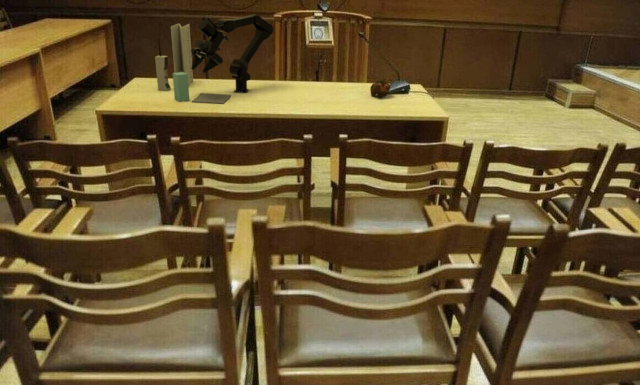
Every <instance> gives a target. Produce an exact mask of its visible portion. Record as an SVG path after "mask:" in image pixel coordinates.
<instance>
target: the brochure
mask: <svg viewBox="0 0 640 385" xmlns="http://www.w3.org/2000/svg"><path fill="white" fill-rule="evenodd" d="M170 34H171V44H172V45H171V46H172V57H173V68H174V69H173V71H174V72H173V73H179V72H184V73H186V74H188V86H189V87H190V85H192V84H193V83H194V74H193V73H194V72H193V71H194V70H192V69H191V68H192V63H193V59H192V58H193V55H192V52H191V50H192V44H191V27H190V23H188V24H186V25H184V26H182V25H181V24H180V23H176V24H174V25H171V26H170Z"/></svg>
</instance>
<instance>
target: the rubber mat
mask: <svg viewBox="0 0 640 385" xmlns="http://www.w3.org/2000/svg"><path fill="white" fill-rule="evenodd" d="M231 97H232V94H225V93H209V92H208V93H206V92H201V93H199V94H198V95H197V96H196V97H195V98H194V99H193V100H191V103H193V104H194V103H200V104H214V105H217V104H218V105H225V103H226V102H227V101H228V100H229V99H230V98H231Z"/></svg>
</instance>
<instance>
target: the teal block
mask: <svg viewBox="0 0 640 385" xmlns="http://www.w3.org/2000/svg"><path fill="white" fill-rule="evenodd" d="M172 82H173V95H174V100H175V101H176V102H179V103H183V102H189V101H190V91H189V90H190V89H189V88H190V85H189V86H188V74H186V73H184V72H179V73H175V72H173V73H172Z"/></svg>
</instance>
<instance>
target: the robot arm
mask: <svg viewBox="0 0 640 385" xmlns="http://www.w3.org/2000/svg"><path fill="white" fill-rule="evenodd" d="M249 25H252V26H253V27H254V36H253V38H252V39H251V41H250V42H249V44H248V45H247V46H246V49H245V50H244V51H243V53H242V55H241V56H240V57H239V58H238V59H236V58H234V59H233V60H232V62H231V63H230V64H229V66H230V67H229V69H228V70H229V73H230V76H231V77H232V79H234V80H235V89H234V90H233V93H242V94H243V93H244V94H245V93H248V92H249V90H250V89H249V88H248V81H251V75H250V73H249V72H248V70H249V63H250V62H251V61H252V59H253V57H254V56H255V54H256V53H257V51H258V50H259V48H260V47H261V45H262V43H263V42H264V41H266V40H268V39H270V37H271V36H272V34H273V33H274V26H273V24H271V23H269V22H267V21H266V20H265V19H264V18H262V17H261V16H260V15H258V14H254V13H253V14H249V15H246V16H241V17H236V18H219V19H217V21H216V22H213V21H212V20H211V18H209V17H205V18H204V19H203V20H201V21H200V22H199V23H198V25H197V28H198V30H199V31H200V32H201V33H202V34H204V35H205V37H207V38H208V39H203V40H199V39H194V41H193V47H191V56H192V58H193V59H192V68H191V69H192V70H193V71H194V70H195V69H197V67H198V66H199V65H200V64H201V63H202V62H203V61H204V59H205V58H206V59H207V60H206V61H207V62H206V63H205V65H204V68H203V70H202V73H204V74H206V73H207V72H209V71H210V70H211V69H214V68H215V67H217V66H219V65H222V64H223V62H224V60H223V57H222V56H220V54H218V53H217V51H218V52H219V51H220V50H221V48H220V47H221V45H222V43H223V42H224V41H226V42H229V38H228V34H229V33H231V32H234V31H235V30H236V29H238V28H241V27H242V28H243V27H247V26H249ZM224 33H226V34H224Z"/></svg>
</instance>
